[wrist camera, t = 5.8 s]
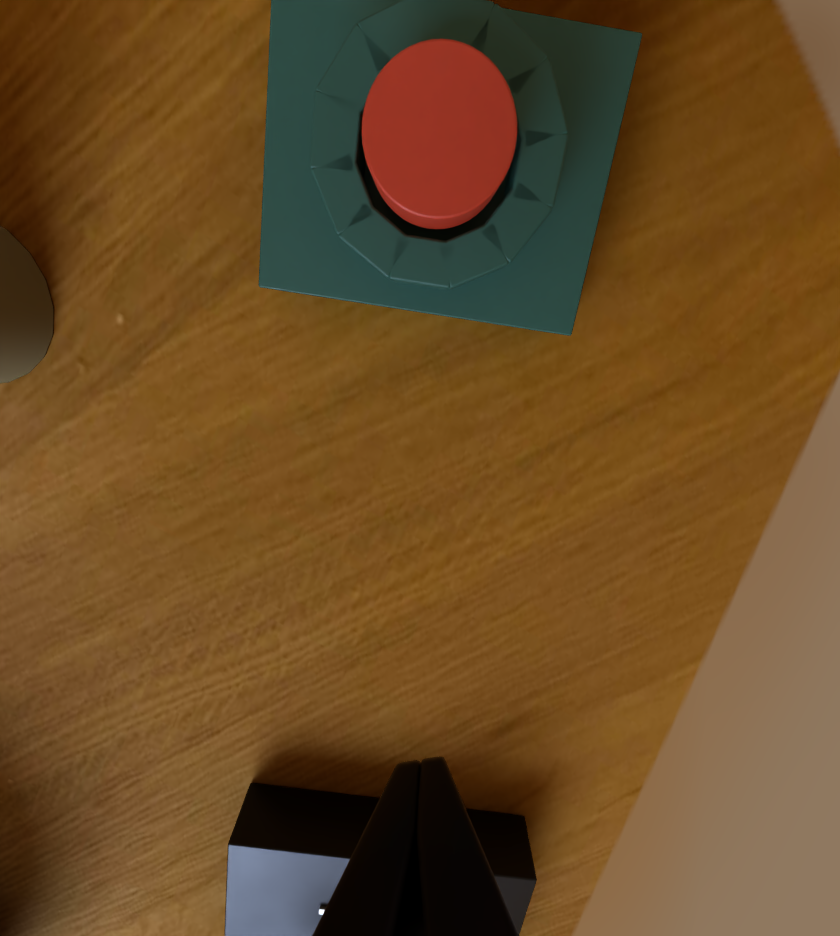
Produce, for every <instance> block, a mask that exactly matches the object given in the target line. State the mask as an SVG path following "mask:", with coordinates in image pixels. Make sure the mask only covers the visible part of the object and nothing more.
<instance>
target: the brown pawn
mask: <svg viewBox="0 0 840 936" xmlns="http://www.w3.org/2000/svg"><path fill="white" fill-rule="evenodd" d="M52 335H53V305H52V301H51V297H50V294H49V290H48V287H47V283H46V280H45V278H44V276H43V275H42V273H41V271H40V270H39V268H38V266H37V265H36V263H35V261H34V259H33V258H32V256H31V254H30V253H29V252H28V251H27V250H26V249H25V248H24V247H23V246H22V245H21V244H20V243H19V242H18V241H17V240H16V239H15V238H14V237H13V236H12V235H11V234H10V233H9V232H8V230H6V229H4V228H3V227H1V226H0V383H6V382H10V381H12V380H14V379H17V378H19V377H21V376H23V375H26V374H28V373H29V372H30V371H31V370H32V369H33V368H34V367H35V366H36V365H37V364H38V363H39V362H40V361H41V360H42V359H43V358H44V356H45V354H46V351H47V348H48V346H49V343H50V341H51V338H52Z"/></svg>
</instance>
